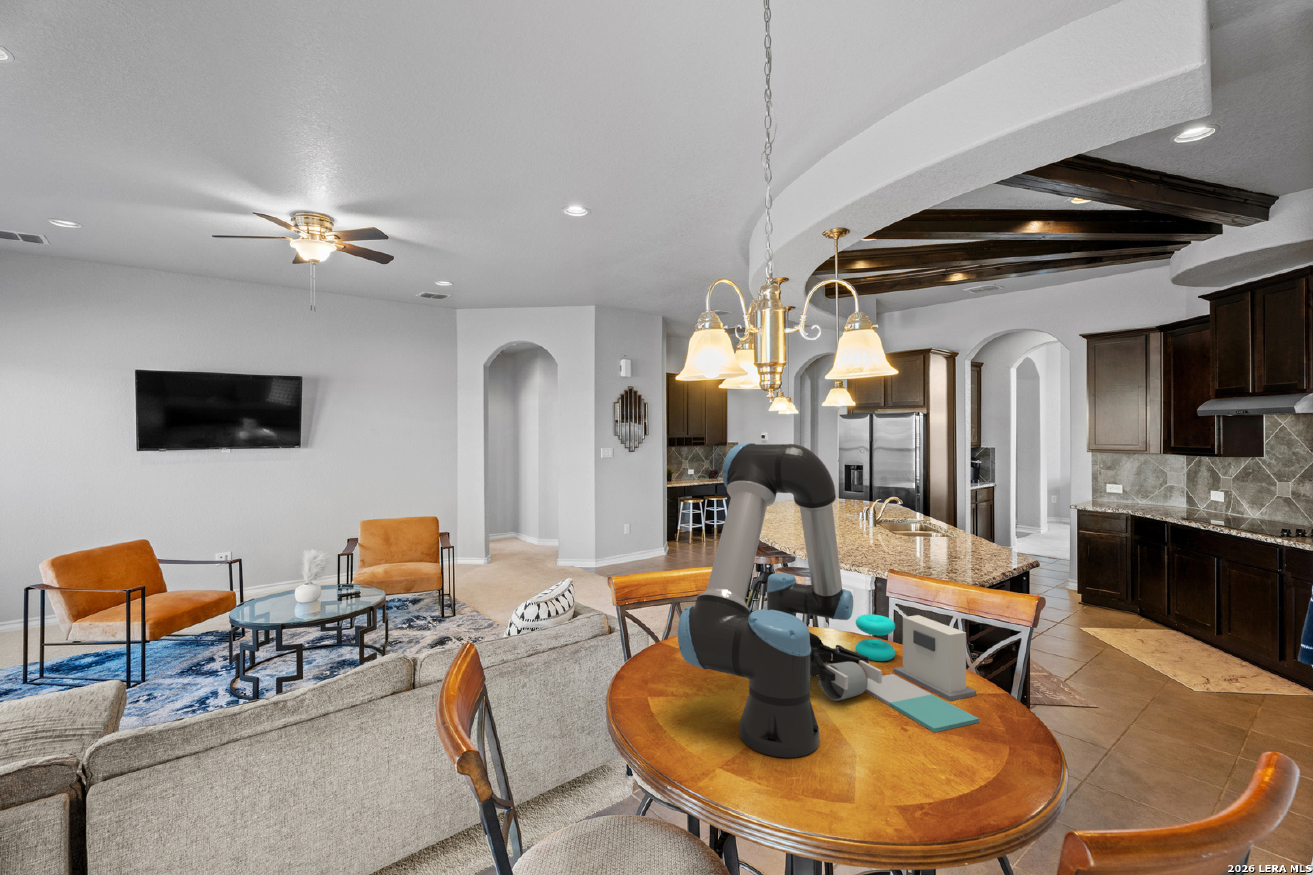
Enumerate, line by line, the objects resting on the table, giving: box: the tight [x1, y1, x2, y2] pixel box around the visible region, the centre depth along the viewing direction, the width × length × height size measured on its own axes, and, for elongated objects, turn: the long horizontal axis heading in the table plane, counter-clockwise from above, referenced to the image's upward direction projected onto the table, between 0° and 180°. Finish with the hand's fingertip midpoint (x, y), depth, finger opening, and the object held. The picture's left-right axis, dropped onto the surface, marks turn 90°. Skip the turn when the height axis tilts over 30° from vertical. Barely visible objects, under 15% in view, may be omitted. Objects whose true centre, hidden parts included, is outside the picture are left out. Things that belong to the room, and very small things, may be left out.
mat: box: [864, 673, 980, 733], centre depth 127 cm, size 12×24×1 cm, turn 21°
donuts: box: [855, 614, 896, 662], centre depth 155 cm, size 10×10×10 cm
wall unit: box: [893, 614, 977, 702], centre depth 137 cm, size 8×17×14 cm, turn 21°
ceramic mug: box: [817, 662, 868, 702], centre depth 131 cm, size 11×8×8 cm
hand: (863, 680), depth 124 cm, fingers closed on ceramic mug, 8 cm apart
